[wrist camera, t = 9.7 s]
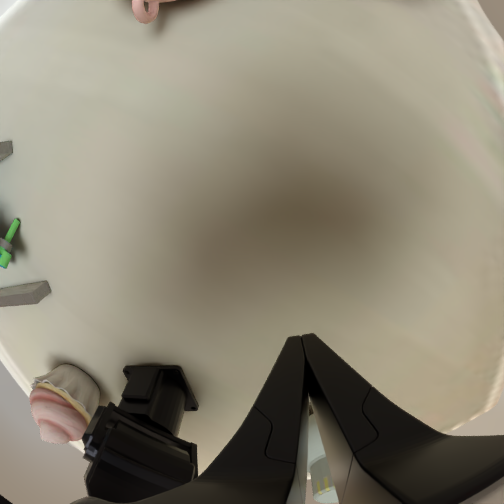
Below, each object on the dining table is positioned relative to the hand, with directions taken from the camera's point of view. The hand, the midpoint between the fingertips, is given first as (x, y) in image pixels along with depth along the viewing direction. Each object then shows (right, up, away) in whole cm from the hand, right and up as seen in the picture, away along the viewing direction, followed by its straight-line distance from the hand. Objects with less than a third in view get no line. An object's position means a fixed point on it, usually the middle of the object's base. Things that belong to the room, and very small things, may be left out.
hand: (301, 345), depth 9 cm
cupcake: (-23, -13, +19) cm, 32 cm away
